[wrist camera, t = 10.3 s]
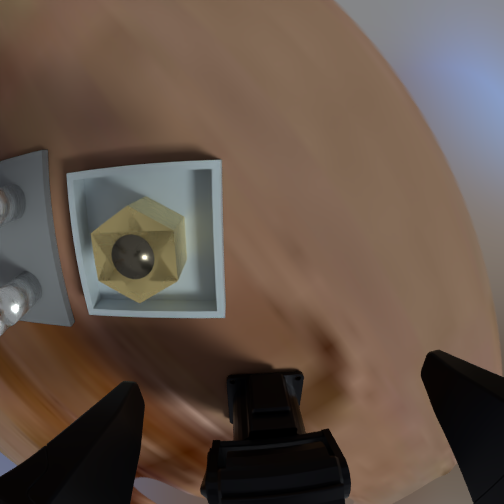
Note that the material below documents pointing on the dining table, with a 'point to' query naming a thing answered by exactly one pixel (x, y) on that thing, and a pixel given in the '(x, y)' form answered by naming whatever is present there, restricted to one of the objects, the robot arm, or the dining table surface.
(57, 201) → the dining table surface
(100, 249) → the brass nut
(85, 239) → the tray
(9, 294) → the spacer posts
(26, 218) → the spacer board
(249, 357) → the dining table surface
